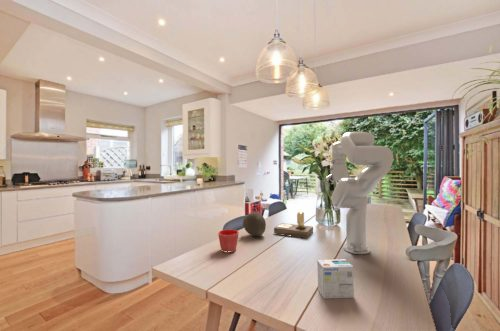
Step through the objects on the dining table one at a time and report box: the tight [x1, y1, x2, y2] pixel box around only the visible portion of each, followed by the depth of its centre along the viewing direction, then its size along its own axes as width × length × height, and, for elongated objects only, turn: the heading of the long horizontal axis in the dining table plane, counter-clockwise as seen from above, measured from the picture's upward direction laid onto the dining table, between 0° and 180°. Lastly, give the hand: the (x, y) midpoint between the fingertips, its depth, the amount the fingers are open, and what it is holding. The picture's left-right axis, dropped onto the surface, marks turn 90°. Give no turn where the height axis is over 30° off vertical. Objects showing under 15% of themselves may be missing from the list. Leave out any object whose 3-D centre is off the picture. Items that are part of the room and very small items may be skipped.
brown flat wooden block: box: [273, 222, 314, 239], centre depth 154 cm, size 14×22×4 cm, turn 61°
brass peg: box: [296, 211, 305, 230], centre depth 152 cm, size 4×4×14 cm
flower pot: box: [217, 229, 240, 252], centre depth 125 cm, size 11×11×10 cm
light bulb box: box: [316, 258, 355, 299], centre depth 81 cm, size 11×7×11 cm, turn 92°
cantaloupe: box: [242, 212, 267, 237], centre depth 149 cm, size 14×14×15 cm
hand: (338, 190), depth 145 cm, fingers open, 9 cm apart
